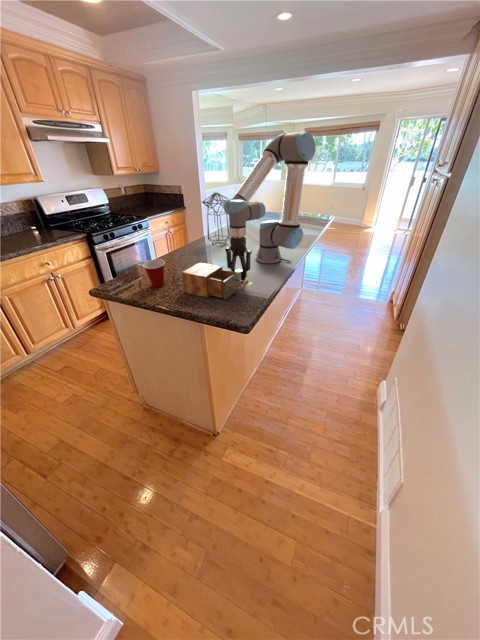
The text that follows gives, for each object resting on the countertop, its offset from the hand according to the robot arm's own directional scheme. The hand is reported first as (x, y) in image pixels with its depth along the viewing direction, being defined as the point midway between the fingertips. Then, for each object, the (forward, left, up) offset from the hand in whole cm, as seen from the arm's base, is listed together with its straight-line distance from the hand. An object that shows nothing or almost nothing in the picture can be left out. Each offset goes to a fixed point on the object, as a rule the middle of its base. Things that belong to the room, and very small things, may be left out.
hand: (239, 282), depth 137 cm
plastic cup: (+41, +7, -1) cm, 42 cm away
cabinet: (+16, +9, 0) cm, 18 cm away
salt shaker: (0, 0, 0) cm, 0 cm away
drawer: (+4, +14, 0) cm, 14 cm away
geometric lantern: (+25, -67, -1) cm, 72 cm away
